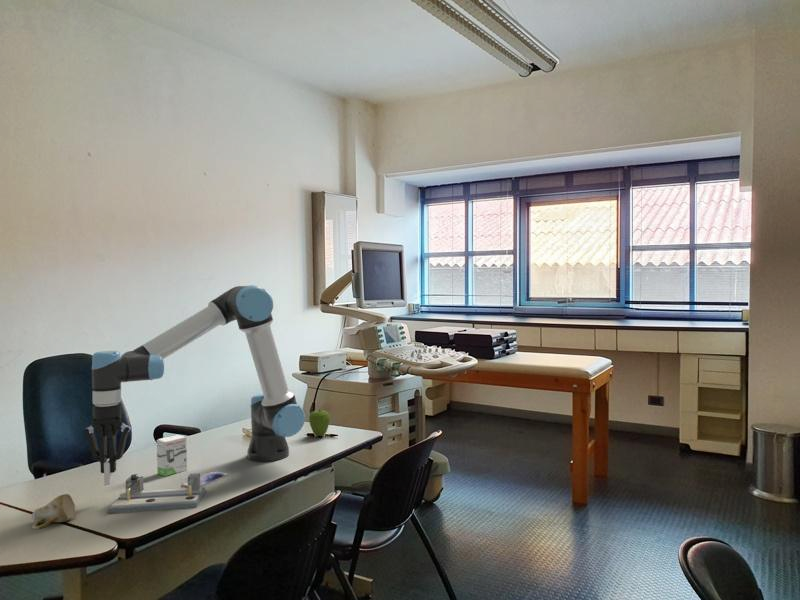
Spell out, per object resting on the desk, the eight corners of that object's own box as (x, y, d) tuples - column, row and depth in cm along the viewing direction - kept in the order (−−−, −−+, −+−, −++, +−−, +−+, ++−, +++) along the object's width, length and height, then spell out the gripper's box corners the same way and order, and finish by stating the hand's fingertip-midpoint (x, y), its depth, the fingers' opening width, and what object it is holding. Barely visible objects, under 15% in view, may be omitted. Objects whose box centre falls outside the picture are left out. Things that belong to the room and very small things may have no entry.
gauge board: (205, 491, 178) (205, 470, 178) (196, 507, 165) (196, 484, 165) (123, 496, 175) (123, 475, 174) (108, 513, 162) (107, 490, 162)
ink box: (164, 476, 192) (163, 441, 192) (156, 474, 195) (155, 439, 195) (187, 470, 199) (187, 436, 199) (180, 467, 202) (179, 434, 202)
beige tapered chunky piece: (34, 519, 159) (55, 485, 161) (67, 534, 159) (86, 499, 161) (20, 524, 151) (42, 487, 154) (54, 539, 151) (75, 502, 154)
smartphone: (230, 473, 193) (196, 487, 180) (230, 476, 193) (196, 490, 180) (213, 470, 196) (179, 484, 183) (213, 473, 196) (179, 487, 183)
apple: (312, 433, 245) (312, 406, 245) (332, 433, 245) (331, 406, 244) (307, 439, 237) (306, 411, 236) (327, 439, 236) (326, 411, 236)
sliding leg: (143, 490, 173) (143, 473, 173) (135, 500, 165) (134, 481, 165) (129, 491, 173) (129, 473, 172) (120, 501, 165) (120, 482, 165)
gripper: (134, 400, 174) (135, 478, 175) (88, 402, 172) (90, 480, 173) (126, 405, 167) (127, 486, 167) (78, 407, 165) (79, 489, 165)
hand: (108, 483), depth 170 cm, fingers closed
